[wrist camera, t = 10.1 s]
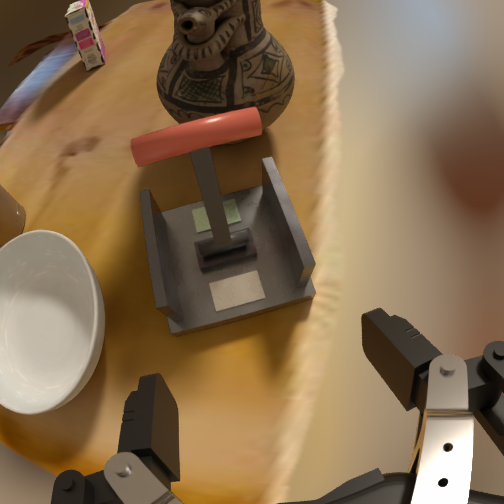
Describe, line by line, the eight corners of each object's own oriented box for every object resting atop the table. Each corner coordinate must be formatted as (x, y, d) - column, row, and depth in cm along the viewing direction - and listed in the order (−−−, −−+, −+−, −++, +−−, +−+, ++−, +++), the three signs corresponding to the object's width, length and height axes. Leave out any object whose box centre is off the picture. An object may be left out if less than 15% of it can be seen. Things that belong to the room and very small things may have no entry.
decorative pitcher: (196, 80, 49) (173, -46, 26) (297, 87, 47) (306, -49, 24) (150, 173, 40) (82, 10, 18) (280, 187, 39) (292, -10, 16)
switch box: (313, 298, 33) (327, 272, 25) (175, 336, 31) (150, 321, 24) (273, 192, 38) (275, 148, 31) (154, 223, 37) (132, 186, 30)
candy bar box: (106, 63, 55) (85, 6, 40) (86, 72, 54) (63, 16, 39) (105, 46, 59) (88, -5, 44) (87, 54, 59) (68, 4, 44)
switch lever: (276, 241, 31) (259, 111, 22) (177, 268, 30) (129, 145, 21) (269, 226, 33) (252, 103, 24) (176, 252, 32) (132, 134, 23)
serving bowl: (108, 439, 27) (75, 447, 21) (-10, 379, 29) (-44, 372, 22) (143, 264, 35) (120, 238, 29) (25, 244, 37) (-3, 222, 31)
